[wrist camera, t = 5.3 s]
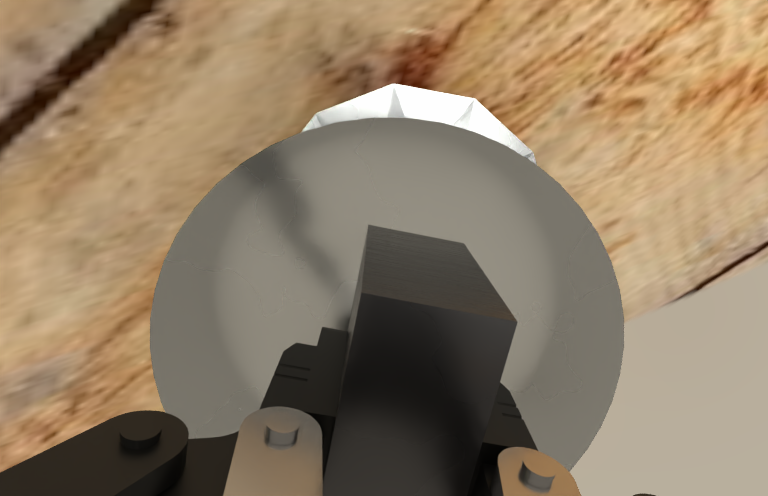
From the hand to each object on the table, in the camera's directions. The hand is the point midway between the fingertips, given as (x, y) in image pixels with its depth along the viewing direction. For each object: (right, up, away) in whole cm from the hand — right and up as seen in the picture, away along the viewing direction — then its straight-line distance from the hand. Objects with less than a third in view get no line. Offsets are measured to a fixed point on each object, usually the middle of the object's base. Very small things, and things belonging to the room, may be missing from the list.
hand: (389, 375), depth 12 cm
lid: (0, 0, +2) cm, 2 cm away
